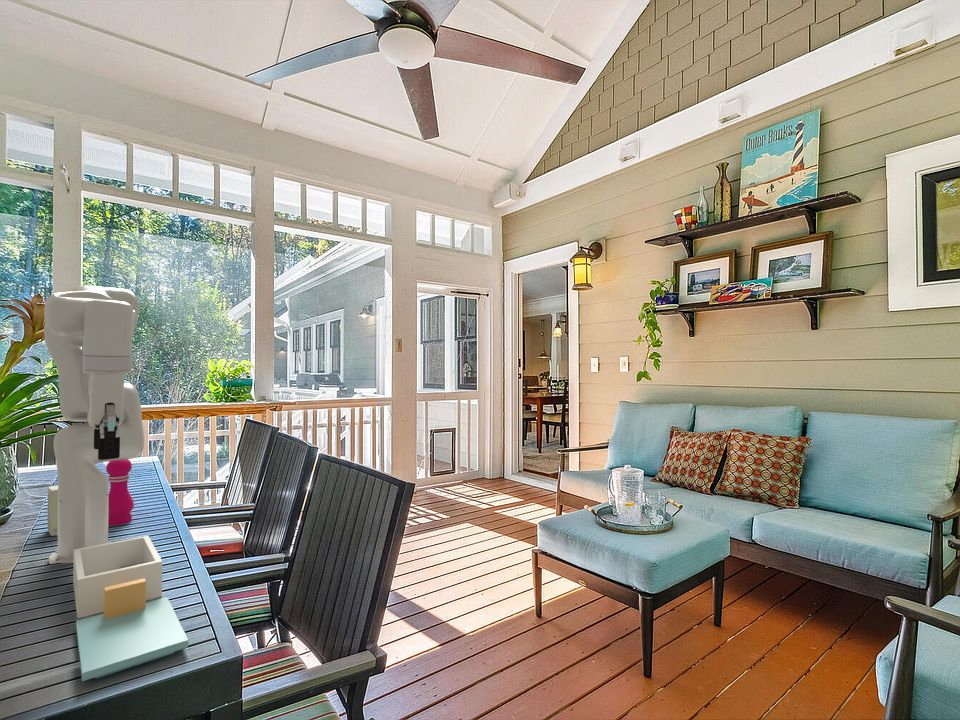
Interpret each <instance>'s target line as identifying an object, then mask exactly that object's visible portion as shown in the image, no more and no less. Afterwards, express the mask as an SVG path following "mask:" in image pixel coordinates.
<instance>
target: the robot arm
mask: <svg viewBox="0 0 960 720" xmlns="http://www.w3.org/2000/svg"><path fill="white" fill-rule="evenodd" d="M43 311H44V312H43V313H44V314H43V315H44V324H43V334H44V335H43V336H44V341H45V344H46V348H47V350H48V353H49V354H50V357H51V359H52V360H53V362H54V364H55V366H56V369H57V374H58V391H59V393H58V394H59V406H60V407H59V408H60V413H61V415H62V417H63V418H64V419H65V420H66V421H69V422H76V423H77V422H78V423H79V424H72V425H69V426H64V427H63V428H61V429H59V430H58V431H57V432H56V433H55V435H54V437H53V445H52V446H53V452H54V456H55V464H56V469H57V470H56V471H57V486H58V535H57V550H56V551H54V552H53V553H51V554H50V555H49V556H48V563H49V564H50V565H54V564H70V563H73V559H74V549H79V548H84V547H89V546H95V545H100V544H105V543H111V542H112V541H109V525H108V506H109V492H110V485H109V484H110V482H109V481H108V480H109V478H108V476H107V475H106V473H104V472H103V471H102V470H101V469H99V468H98V467H97V466H96V465H97V464H100V463H101V464H102V463H105V462H106V463H107V462H108V463H109V462H110V461H117V460H126V459H128V460H133V459H135V458H138V457H139V456H141V455H142V453H143V452H144V449H145V435H144V433H145V432H144V431H145V430H144V425H143V424H144V423H143V413H142V406H141V405H142V404H141V398H140V394H139V393H140V392H139V391H138V388H136V386H134V385H133V384H131V383H128V382H125V374H130V373H131V374H132V367H133V364H132V363H133V356H132V355H133V334H134V331H135V330H136V328H137V322H138V319H139V315H140V303H139V299H138V297H137V296H136V294H135V293H134V292H133V291H131V290H129V289H126V288H117V287H106V286H105V287H104V286H96V285H79V286H75V287H72V288H71V289H69V290H68V291H65V292H55V293H52V294H50V295H49V296H48V298H47V299H46V301H45V304H44V310H43ZM80 422H83V423H80ZM84 422H86V423H84ZM87 422H88V423H87Z"/></svg>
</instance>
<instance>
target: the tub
mask: <svg viewBox="0 0 960 720" xmlns="http://www.w3.org/2000/svg"><path fill="white" fill-rule="evenodd" d="M110 542H111V543H105V544H100V545H95V546H89V547H84V548H79V549H74V559H73V562H72V563H73V566H72V567H73V569H72V570H73V571H72V573H73V574H72V575H73V579H72V580H73V581H72V584H73V585H72V586H73V594H74V602H75V609H76V617H77V620H79V619H83V618H87V617H89V616H90V617H91V616H95V615H96V614H97V615H99V614H103V613H104V588H105V587H109V586H113V585H117V584H122V583H126V582H130V581H135V580H139V579H143V578H145V580H146V602H149V601H153V600H156V599H160V598H162V597H163V560H162V558H161V556H160V555H159V553H158V551H157V548H156V547H155V546H154V544H153V541H152V540H151V537H150V535H144V536H139V537H133V538H127V539H121V540H117V541H110ZM136 563H137V565H135V566H130V567H125V568H121V569H120V567H122V566H127V565H132V564H136Z"/></svg>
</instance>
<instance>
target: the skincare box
mask: <svg viewBox="0 0 960 720" xmlns="http://www.w3.org/2000/svg"><path fill="white" fill-rule="evenodd" d="M48 532H49V533H48ZM47 533H48V534H49V535H50V536H51V537H54V536H58V485H51V486H48V487H47Z"/></svg>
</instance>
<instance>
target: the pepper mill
mask: <svg viewBox="0 0 960 720" xmlns="http://www.w3.org/2000/svg"><path fill="white" fill-rule="evenodd" d="M130 460H131V459H126V460H117V461H108V463H107V464H106V467H105V469H106V473H107V474H108V475H109V476H107V478H108V481H109V484H110V485H109V506H108V527H109V526H110V527H111V526H114V527H115V526H121V525H125V524H126V525H127V524H128V523H130V522H131V521H132V520H133V513H131V511H132V510H133V509H134V507H135V501H134V498H133V497H132V496H131V494H130V492H129V488H128V482H129V480H130V479H131V478H130V472H131V470H132V468H133V463H132V461H130Z"/></svg>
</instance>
